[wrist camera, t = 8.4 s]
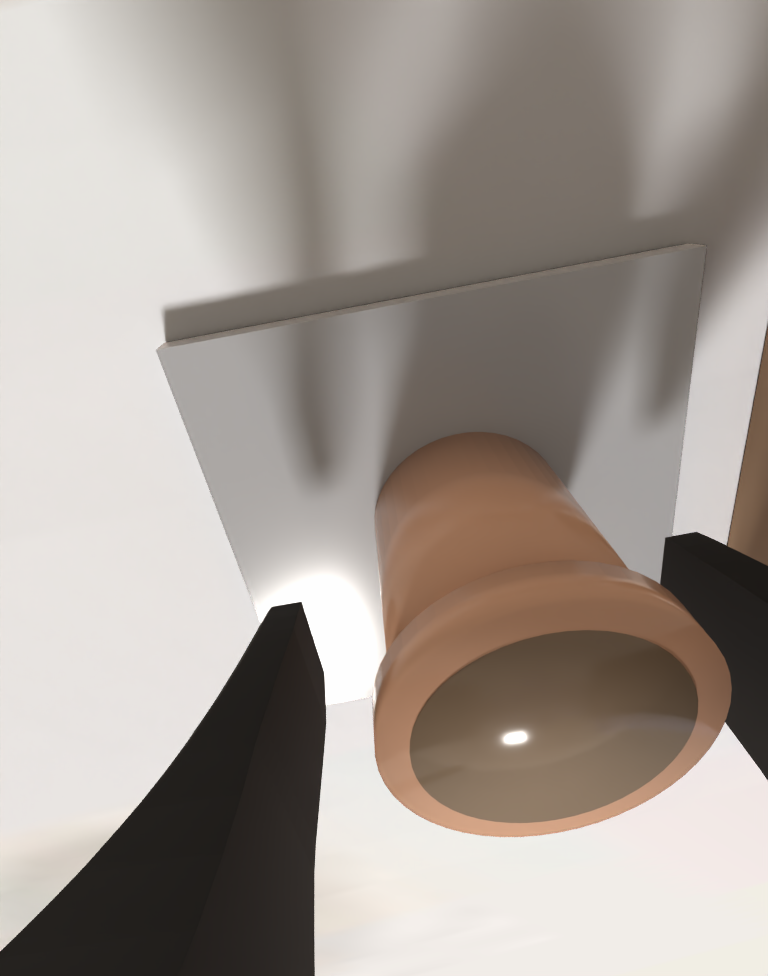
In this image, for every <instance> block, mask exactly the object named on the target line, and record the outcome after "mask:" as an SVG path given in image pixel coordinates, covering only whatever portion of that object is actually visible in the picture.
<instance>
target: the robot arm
mask: <svg viewBox="0 0 768 976" xmlns="http://www.w3.org/2000/svg"><path fill="white" fill-rule="evenodd" d="M660 585H662V586H663V587H665V588H666V589H667V590H669V591H670V592H671V593H672V594H673V595H674V596H675V597H676V598H677V599H678V600H679V601H680V602H681V603H682V604H683V605H684V607H685V608H686V609H687V610H688V611H689V613H690V614H691V615H692V616H693V617H694V619H695V620H696V621H697V622H698V623H699V625H700V626H701V627H702V628H703V629H704V631H705V632H706V633H707V634H708V635H709V637H710V638H711V639H712V640H713V641H714V643H715V644H716V645H717V647H718V648H719V650H720V652H721V653H722V655H723V656H724V658H725V661H726V663H727V666H728V669H729V672H730V678H731V686H732V691H731V703H730V707H729V711H728V714H727V718H726V720H725V722H726V724H727V725H728V726H729V728H730V729H731V730H732V732H733V733H734V735H735V736H736V737H737V739H738V740H739V741H740V743H741V744H742V745H743V747H744V748H745V749H746V751H747V752H748V754H749V755H750V756H751V758H752V759H753V760H754V762H755V763H756V764H757V766H758V767H759V768H760V770H761V771H762V773H763V774H764V776H765V777H766V779H767V780H768V566H767V565H765V564H763V563H761V562H759V561H757V560H755V559H753V558H751V557H749V556H747V555H745V554H743V553H741V552H739V551H737V550H735V549H733V548H730V547H728V546H726V545H724V544H722V543H720V542H718V541H716V540H714V539H711V538H709V537H707V536H705V535H702V534H700V533H698V532H694V533H688V534H683V535H677V536H671V537H666V538H665V544H664V553H663V562H662V571H661V580H660ZM325 730H326V696H325V673H324V670H323V666H322V663H321V660H320V657H319V654H318V651H317V648H316V645H315V641H314V638H313V635H312V632H311V629H310V626H309V623H308V620H307V617H306V613H305V610H304V607H303V604H302V601H301V602H296V603H290V604H284V605H279V606H273V607H271V608H270V610H269V611H268V612H267V614H266V616H265V618H264V619H263V621H262V623H261V625H260V626H259V628H258V630H257V632H256V634H255V635H254V637H253V639H252V641H251V642H250V644H249V646H248V648H247V649H246V651H245V653H244V655H243V656H242V658H241V660H240V661H239V663H238V665H237V666H236V668H235V670H234V671H233V673H232V675H231V676H230V678H229V679H228V681H227V683H226V684H225V686H224V687H223V689H222V691H221V692H220V694H219V696H218V697H217V699H216V700H215V702H214V703H213V705H212V706H211V708H210V709H209V711H208V712H207V714H206V715H205V717H204V718H203V720H202V721H201V723H200V724H199V725H198V727H197V728H196V730H195V731H194V733H193V734H192V736H191V737H190V739H189V740H188V742H187V743H186V744H185V746H184V747H183V749H182V750H181V751H180V753H179V754H178V755H177V757H176V758H175V759H174V761H173V762H172V763H171V765H170V766H169V767H168V769H167V770H166V771H165V773H164V774H163V775H162V777H161V778H160V779H159V780H158V782H157V783H156V784H155V785H154V787H153V788H152V789H151V790H150V792H149V793H148V794H147V795H146V797H145V798H144V799H143V800H142V802H141V803H140V804H139V805H138V806H137V808H136V809H135V810H134V811H133V812H132V813H131V815H130V816H129V817H128V818H127V819H126V820H125V822H124V823H123V824H122V825H121V826H120V827H119V829H118V830H117V831H116V832H115V833H114V834H113V835H112V836H111V838H110V839H109V840H108V841H107V842H106V843H105V844H104V845H103V847H102V848H101V849H100V850H99V851H98V852H97V853H96V854H95V856H94V857H93V858H92V859H91V860H90V861H89V862H88V863H87V865H86V866H85V867H84V868H83V869H82V870H81V871H80V872H79V873H78V874H77V875H76V876H75V877H74V878H73V879H72V880H71V881H70V882H69V884H68V885H67V886H66V887H65V888H64V889H63V890H62V891H61V892H60V893H59V894H58V895H57V896H56V897H55V898H54V899H53V900H52V901H51V902H50V903H49V904H48V905H47V906H46V907H45V908H44V909H43V910H42V911H41V912H40V913H39V914H38V915H37V916H36V917H35V918H34V919H33V920H32V921H31V922H30V923H29V924H28V925H27V926H26V927H25V928H24V929H23V930H22V931H21V932H20V933H19V934H18V935H17V936H16V937H15V938H14V939H13V940H12V941H11V942H10V943H9V944H8V945H7V946H6V947H4V948H3V949H2V950H1V951H0V976H315V967H314V867H315V848H316V835H317V823H318V812H319V801H320V789H321V778H322V767H323V755H324V743H325Z"/></svg>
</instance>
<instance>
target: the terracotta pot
mask: <svg viewBox="0 0 768 976" xmlns="http://www.w3.org/2000/svg"><path fill="white" fill-rule="evenodd" d="M374 529H375V539H376V550H377V561H378V571H379V582H380V592H381V603H382V614H383V624H384V635H385V645H386V654H385V656H384V658H383V660H382V662H381V663H380V666H379V669H378V672H377V674H376V677H375V681H374V687H373V693H372V708H373V727H374V744H375V758H376V762H377V766H378V770H379V773H380V775H381V777H382V779H383V781H384V783H385V785H386V786H387V788H388V789H389V790H390V792H391V793H392V794H393V796H394V797H395V798H396V799H397V800H399V801H400V802H401V803H402V804H403V805H404V806H405V807H406V808H408V809H409V810H411V811H412V812H414V813H415V814H416V815H418V816H420V817H422V818H424V819H426V820H428V821H430V822H432V823H435V824H437V825H440V826H443V827H445V828H449V829H452V830H456V831H460V832H464V833H470V834H476V835H483V836H496V837H524V836H537V835H545V834H552V833H559V832H563V831H568V830H572V829H577V828H581V827H584V826H588V825H591V824H594V823H598V822H601V821H603V820H606V819H609V818H611V817H614V816H617V815H619V814H621V813H624V812H626V811H628V810H630V809H632V808H635V807H637V806H638V805H640V804H642V803H644V802H646V801H648V800H649V799H651V798H653V797H655V796H656V795H658V794H659V793H661V792H662V791H664V790H665V789H667V788H668V787H670V786H671V785H672V784H674V783H675V782H676V781H678V780H679V779H680V778H681V777H683V776H684V775H685V774H686V773H687V772H688V771H689V770H690V769H691V768H692V767H693V766H694V765H696V764H697V763H698V762H699V760H700V759H701V758H702V757H703V756H704V754H705V753H706V752H707V751H708V750H709V749H710V747H711V746H712V744H713V743H714V741H715V739H716V738H717V736H718V735H719V733H720V731H721V729H722V727H723V725H724V722H725V720H726V718H727V714H728V711H729V707H730V703H731V691H732V686H731V678H730V672H729V669H728V666H727V663H726V661H725V658H724V656H723V655H722V653H721V652H720V650H719V648H718V647H717V645H716V644H715V643H714V641H713V640H712V639H711V638H710V637H709V635H708V634H707V633H706V632H705V631H704V629H703V628H702V627H701V626H700V625H699V623H698V622H697V621H696V620H695V619H694V617H693V616H692V615H691V614H690V613H689V611H688V610H687V609H686V608H685V607H684V605H683V604H682V603H681V602H680V601H679V600H678V599H677V598H676V597H675V596H674V595H673V594H672V593H671V592H670V591H669V590H667V589H666V588H665V587H663V586H662V585H660V584H659V583H658V582H656V581H654V580H652V579H650V578H648V577H646V576H644V575H642V574H640V573H638V572H635V571H632V570H629V569H628V568H627V566H626V565H625V564H624V562H623V561H622V560H621V558H620V557H619V556H618V554H617V553H616V552H615V551H614V549H613V548H612V547H611V545H610V544H609V543H608V541H607V540H606V539H605V537H604V536H603V535H602V534H601V532H600V531H599V530H598V528H597V527H596V526H595V524H594V523H593V522H592V521H591V519H590V518H589V517H588V515H587V514H586V513H585V511H584V510H583V509H582V507H581V506H580V505H579V504H578V502H577V501H576V500H575V498H574V497H573V496H572V494H571V493H570V492H569V490H568V489H567V488H566V487H565V485H564V484H563V483H562V481H561V480H560V479H559V477H558V476H557V475H556V474H555V472H554V471H553V470H552V468H551V467H550V466H549V464H548V463H547V462H546V461H545V459H544V458H543V457H542V456H541V455H540V454H539V453H538V452H536V451H535V450H534V449H532V448H531V447H530V446H528V445H526V444H525V443H523V442H521V441H519V440H517V439H514V438H511V437H509V436H505V435H501V434H497V433H489V432H467V433H460V434H454V435H451V436H447V437H444V438H441V439H438V440H436V441H433V442H431V443H429V444H427V445H425V446H423V447H422V448H420V449H418V450H417V451H415V452H414V453H412V454H411V455H410V456H408V457H407V458H406V459H405V460H404V461H403V462H402V463H401V464H399V465H398V466H397V468H396V469H395V470H394V471H393V472H392V474H391V475H390V476H389V478H388V479H387V481H386V482H385V484H384V486H383V488H382V490H381V492H380V494H379V497H378V500H377V504H376V508H375V515H374Z"/></svg>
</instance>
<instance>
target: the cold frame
mask: <svg viewBox="0 0 768 976" xmlns="http://www.w3.org/2000/svg"><path fill="white" fill-rule="evenodd" d="M727 546H728V547H730V548H733V549H735V550H737V551H739V552H741V553H743V554H745V555H747V556H749V557H751V558H753V559H755V560H757V561H759V562H761V563H763V564H765V565H767V566H768V329H767V335H766V340H765V345H764V351H763V356H762V362H761V367H760V372H759V378H758V383H757V389H756V394H755V399H754V405H753V410H752V416H751V421H750V426H749V432H748V437H747V443H746V448H745V453H744V459H743V464H742V470H741V475H740V480H739V486H738V491H737V497H736V502H735V507H734V513H733V518H732V524H731V529H730V534H729V540H728V545H727Z"/></svg>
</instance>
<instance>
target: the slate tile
mask: <svg viewBox="0 0 768 976" xmlns="http://www.w3.org/2000/svg"><path fill="white" fill-rule="evenodd" d="M706 249H707V246H706V245H699V244H691V243H688V244H683V245H677V246H672V247H667V248H661V249H656V250H651V251H646V252H640V253H635V254H630V255H625V256H619V257H614V258H609V259H603V260H598V261H593V262H588V263H582V264H577V265H572V266H567V267H561V268H556V269H551V270H545V271H540V272H535V273H530V274H524V275H519V276H514V277H509V278H503V279H498V280H493V281H487V282H482V283H477V284H472V285H466V286H461V287H456V288H451V289H445V290H440V291H435V292H429V293H424V294H419V295H414V296H408V297H403V298H398V299H393V300H387V301H382V302H377V303H371V304H366V305H361V306H356V307H350V308H345V309H340V310H335V311H329V312H324V313H319V314H313V315H308V316H303V317H298V318H292V319H287V320H282V321H277V322H271V323H266V324H261V325H255V326H250V327H245V328H240V329H234V330H229V331H224V332H219V333H213V334H208V335H203V336H197V337H192V338H187V339H182V340H176V341H171V342H166V343H164V344H163V345H161V346H160V347H159V348H158V349H157V350H156V351H157V354H158V357H159V359H160V362H161V365H162V367H163V370H164V372H165V375H166V378H167V380H168V383H169V385H170V388H171V391H172V393H173V396H174V399H175V401H176V404H177V406H178V409H179V412H180V414H181V417H182V419H183V422H184V425H185V427H186V430H187V433H188V435H189V438H190V440H191V443H192V446H193V448H194V451H195V453H196V456H197V459H198V461H199V464H200V467H201V469H202V472H203V474H204V477H205V480H206V482H207V485H208V487H209V490H210V493H211V495H212V498H213V501H214V503H215V506H216V508H217V511H218V514H219V516H220V519H221V521H222V524H223V527H224V529H225V532H226V535H227V537H228V540H229V542H230V545H231V548H232V550H233V553H234V555H235V558H236V561H237V563H238V566H239V569H240V571H241V574H242V576H243V579H244V582H245V584H246V587H247V589H248V592H249V595H250V597H251V600H252V603H253V605H254V608H255V610H256V613H257V616H258V618H259V621H260V623H262V621H263V619H264V618H265V616H266V614H267V612H268V611H269V610H270V608H271V607H273V606H279V605H284V604H290V603H296V602H301V601H302V604H303V607H304V610H305V613H306V617H307V620H308V623H309V626H310V629H311V632H312V635H313V638H314V641H315V645H316V648H317V651H318V654H319V657H320V660H321V663H322V666H323V670H324V673H325V696H326V705H330V704H336V703H341V702H347V701H353V700H359V699H365V698H370V697H372V693H373V687H374V681H375V677H376V674H377V672H378V669H379V666H380V663H381V662H382V660H383V658H384V656H385V654H386V645H385V635H384V624H383V614H382V603H381V592H380V582H379V571H378V561H377V550H376V539H375V529H374V515H375V508H376V504H377V500H378V497H379V494H380V492H381V490H382V488H383V486H384V484H385V482H386V481H387V479H388V478H389V476H390V475H391V474H392V472H393V471H394V470H395V469H396V468H397V466H398V465H399V464H401V463H402V462H403V461H404V460H405V459H406V458H407V457H408V456H410V455H411V454H412V453H414V452H415V451H417V450H418V449H420V448H422V447H423V446H425V445H427V444H429V443H431V442H433V441H436V440H438V439H441V438H444V437H447V436H451V435H454V434H460V433H467V432H489V433H497V434H501V435H505V436H509V437H511V438H514V439H517V440H519V441H521V442H523V443H525V444H526V445H528V446H530V447H531V448H532V449H534V450H535V451H536V452H538V453H539V454H540V455H541V456H542V457H543V458H544V459H545V461H546V462H547V463H548V464H549V466H550V467H551V468H552V470H553V471H554V472H555V474H556V475H557V476H558V477H559V479H560V480H561V481H562V483H563V484H564V485H565V487H566V488H567V489H568V490H569V492H570V493H571V494H572V496H573V497H574V498H575V500H576V501H577V502H578V504H579V505H580V506H581V507H582V509H583V510H584V511H585V513H586V514H587V515H588V517H589V518H590V519H591V521H592V522H593V523H594V524H595V526H596V527H597V528H598V530H599V531H600V532H601V534H602V535H603V536H604V537H605V539H606V540H607V541H608V543H609V544H610V545H611V547H612V548H613V549H614V551H615V552H616V553H617V554H618V556H619V557H620V558H621V560H622V561H623V562H624V564H625V565H626V566H627V568H628V569H629V570H632V571H635V572H638V573H640V574H642V575H644V576H646V577H648V578H650V579H652V580H654V581H656V582H658V583H659V584H660V580H661V571H662V562H663V553H664V544H665V538H666V537H671V536H672V531H673V523H674V515H675V506H676V498H677V490H678V481H679V473H680V465H681V456H682V448H683V440H684V432H685V423H686V415H687V407H688V398H689V390H690V382H691V373H692V365H693V357H694V349H695V340H696V332H697V324H698V315H699V307H700V299H701V290H702V282H703V274H704V266H705V257H706Z"/></svg>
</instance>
